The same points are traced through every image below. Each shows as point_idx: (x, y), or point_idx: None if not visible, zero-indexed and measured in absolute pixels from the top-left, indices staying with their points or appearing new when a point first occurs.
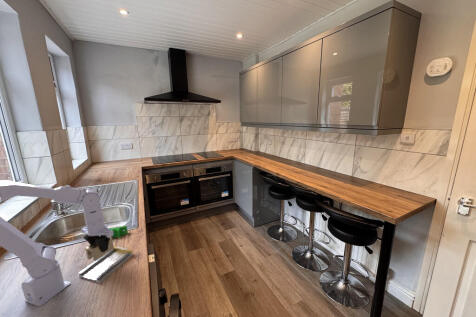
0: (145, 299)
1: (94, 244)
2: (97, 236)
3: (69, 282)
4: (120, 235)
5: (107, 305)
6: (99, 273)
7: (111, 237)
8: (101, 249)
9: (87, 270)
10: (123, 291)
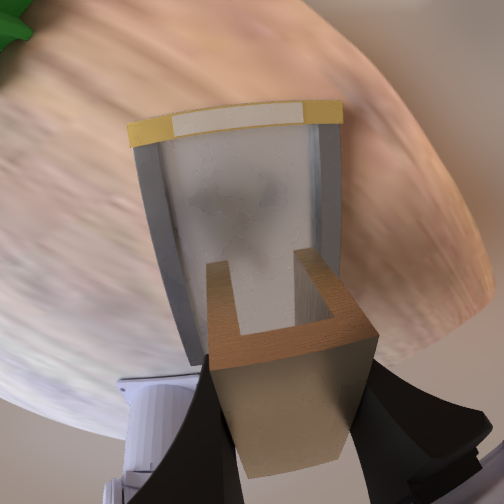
0: (492, 279)
1: (278, 453)
2: (229, 475)
3: (196, 379)
4: (21, 22)
5: (418, 340)
6: (288, 312)
7: (376, 339)
8: None
9: (199, 331)
10: (437, 295)
